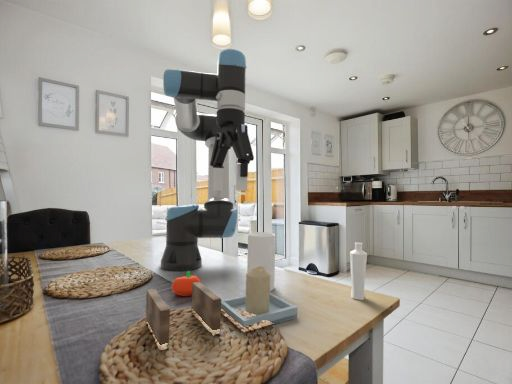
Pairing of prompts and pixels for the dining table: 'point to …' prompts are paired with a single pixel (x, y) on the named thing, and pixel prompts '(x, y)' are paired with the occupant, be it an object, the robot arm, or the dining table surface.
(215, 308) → the cradle
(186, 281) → the orange pumpkin
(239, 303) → the tray
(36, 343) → the dining table surface
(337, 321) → the dining table surface
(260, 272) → the candle
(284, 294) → the dining table surface
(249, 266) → the white tall cylinder
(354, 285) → the perfume bottle
